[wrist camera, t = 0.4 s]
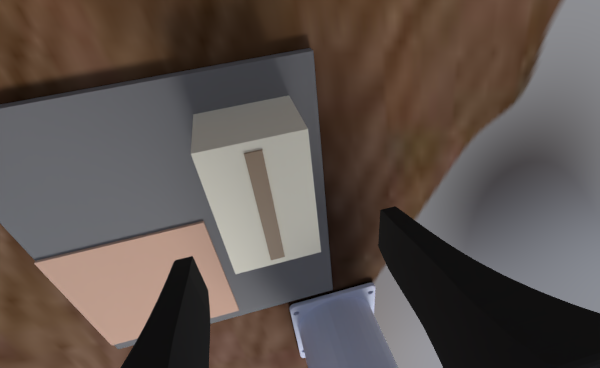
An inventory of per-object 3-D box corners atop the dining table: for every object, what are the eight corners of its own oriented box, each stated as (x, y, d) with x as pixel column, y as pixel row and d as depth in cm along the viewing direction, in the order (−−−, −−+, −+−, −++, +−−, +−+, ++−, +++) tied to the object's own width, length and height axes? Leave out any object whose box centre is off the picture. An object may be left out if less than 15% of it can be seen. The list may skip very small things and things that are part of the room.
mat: (330, 284, 29) (333, 291, 28) (119, 342, 27) (117, 351, 26) (310, 47, 17) (314, 51, 16) (-82, 119, 14) (-95, 127, 14)
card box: (304, 208, 22) (321, 253, 19) (230, 226, 21) (235, 275, 18) (289, 95, 17) (308, 129, 14) (193, 114, 17) (190, 155, 13)
